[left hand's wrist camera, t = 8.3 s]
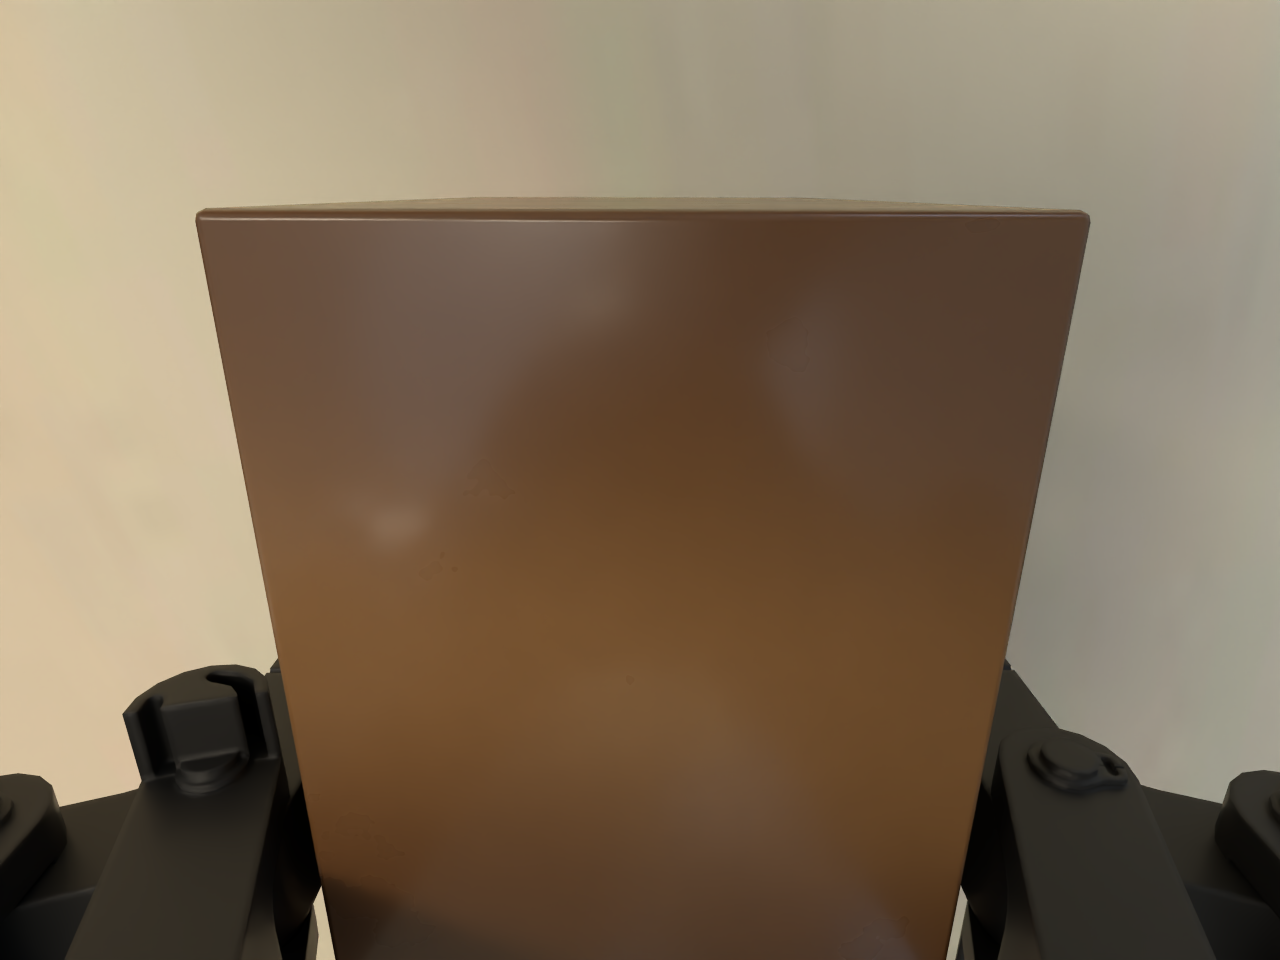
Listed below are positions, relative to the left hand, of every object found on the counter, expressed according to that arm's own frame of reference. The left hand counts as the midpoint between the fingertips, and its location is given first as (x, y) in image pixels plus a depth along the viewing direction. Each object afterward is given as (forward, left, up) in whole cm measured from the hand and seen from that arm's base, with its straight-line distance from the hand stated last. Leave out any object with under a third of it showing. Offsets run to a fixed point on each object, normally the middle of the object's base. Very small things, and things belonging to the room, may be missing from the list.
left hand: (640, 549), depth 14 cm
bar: (+14, -16, -1) cm, 21 cm away
